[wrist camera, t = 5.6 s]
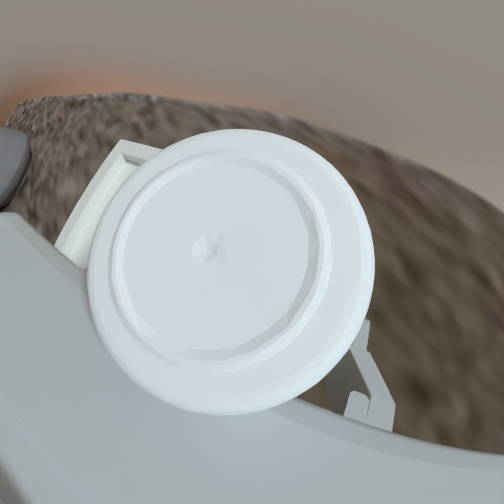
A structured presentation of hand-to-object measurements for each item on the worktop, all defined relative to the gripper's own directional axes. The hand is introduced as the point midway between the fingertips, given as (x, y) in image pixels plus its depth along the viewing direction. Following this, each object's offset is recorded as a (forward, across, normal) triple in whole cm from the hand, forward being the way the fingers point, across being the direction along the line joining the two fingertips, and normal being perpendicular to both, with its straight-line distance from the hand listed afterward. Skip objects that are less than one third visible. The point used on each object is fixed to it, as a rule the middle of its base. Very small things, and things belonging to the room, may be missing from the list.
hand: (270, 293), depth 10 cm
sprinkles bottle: (+4, 0, +5) cm, 7 cm away
